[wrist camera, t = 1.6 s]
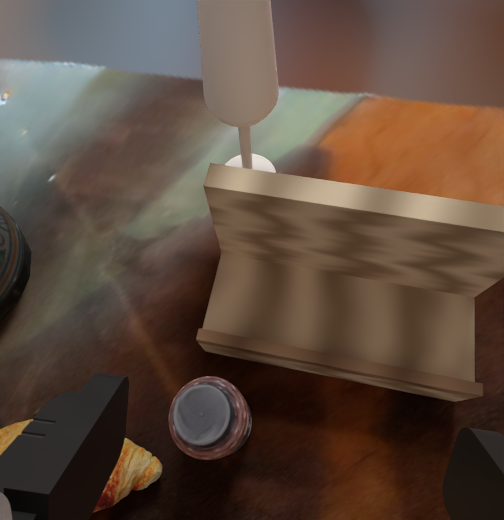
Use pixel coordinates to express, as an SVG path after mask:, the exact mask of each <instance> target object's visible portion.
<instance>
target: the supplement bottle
mask: <svg viewBox="0 0 504 520" xmlns="http://www.w3.org/2000/svg"><path fill="white" fill-rule="evenodd" d="M251 425H252V418H251V412H250V408H249V406H248V404H247V402H246V400H245V399H244V397H243V396H242V394H241V393H240V391H239V390H238V389H237V388H236V387H235V386H234V385H233V384H231V383H230V382H228V381H227V380H224V379H222V378H219V377H214V376H206V377H200V378H197V379H195V380H192V381H191V382H189V383H187V384H186V385H185V386H184V387H183V388H182V389H181V390H180V391H179V392H178V393H177V395H176V396H175V398H174V400H173V402H172V404H171V408H170V412H169V429H170V433H171V435H172V438H173V440H174V442H175V443H176V445H177V446H178V447H179V448H180V449H181V450H182V451H183V452H184V453H186V454H187V455H189V456H191V457H193V458H196V459H201V460H213V459H218V458H222V457H225V456H228V455H231V454H233V453H235V452H236V451H237V450H239V449H240V448H241V447H242V446H243V445H244V443H245V442H246V440H247V439H248V437H249V434H250V431H251Z"/></svg>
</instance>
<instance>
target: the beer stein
mask: <svg viewBox="0 0 504 520" xmlns="http://www.w3.org/2000/svg"><path fill="white" fill-rule="evenodd" d="M30 264H31V250H30V248H29V246H28V244H27V242H26V240H25V238H24V236H23V234H22V232H21V230H20V229H19V227H18V226H17V224H16V222H15V221H14V220H13V219H12V217H11V216H10V215H9V214H8V213H7V212H6V211H5V210H4V209H2V208H1V207H0V320H1V319H2V318H3V317H4V316H5V315H6V314H7V313H8V312H9V311H10V310H11V309H12V308H13V306H14V305H15V304H16V303H17V302H18V301H19V299H20V297H21V295H22V293H23V290H24V288H25V286H26V284H27V281H28V279H29V277H30Z"/></svg>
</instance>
